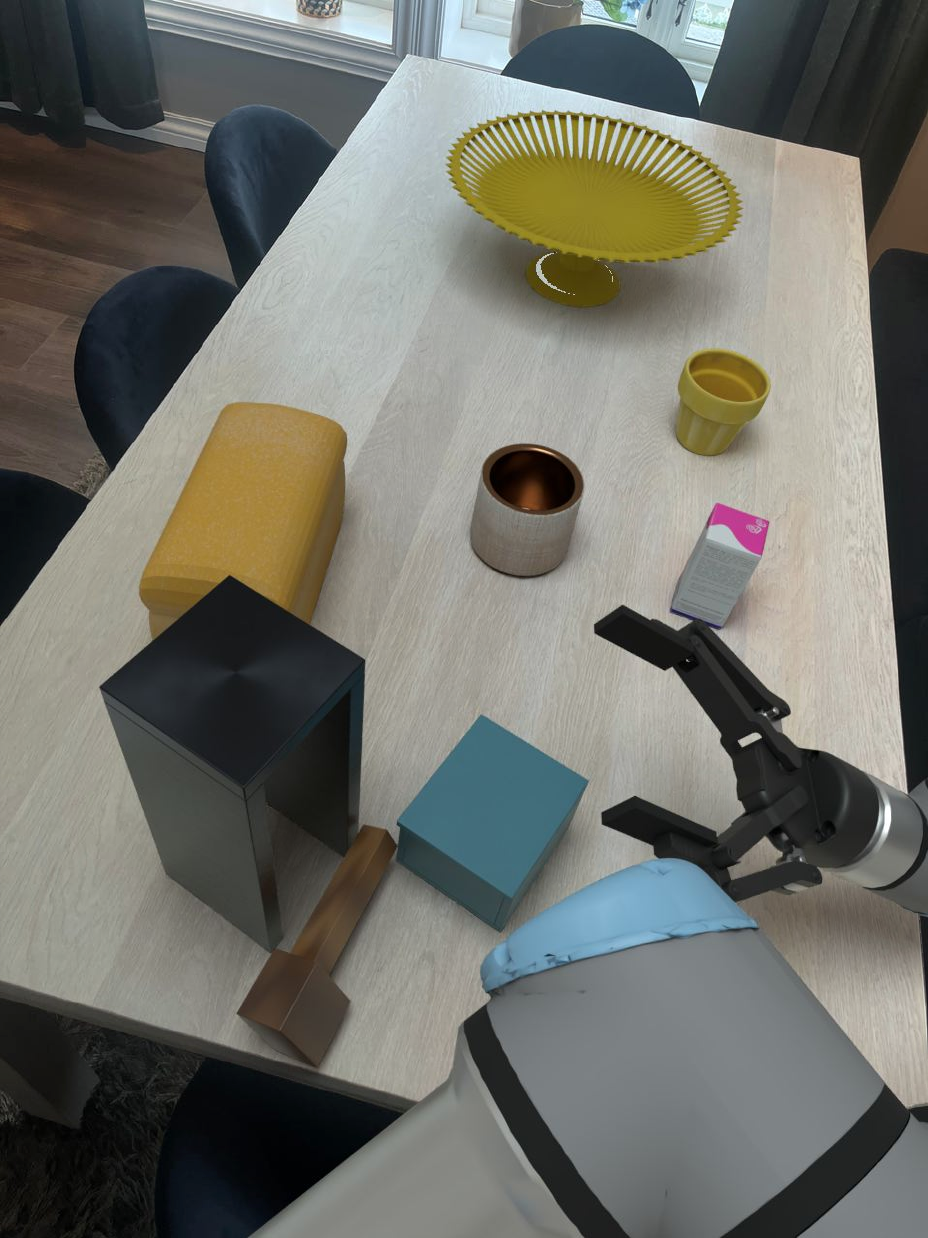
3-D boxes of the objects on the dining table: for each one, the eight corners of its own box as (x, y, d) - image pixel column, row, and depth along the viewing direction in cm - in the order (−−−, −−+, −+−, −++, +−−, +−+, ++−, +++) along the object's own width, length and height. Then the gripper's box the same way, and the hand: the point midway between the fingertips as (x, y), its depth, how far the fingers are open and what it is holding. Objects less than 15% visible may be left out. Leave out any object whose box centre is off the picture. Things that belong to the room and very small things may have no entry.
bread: (232, 490, 102) (219, 378, 90) (348, 511, 102) (350, 402, 90) (155, 668, 86) (126, 562, 75) (290, 693, 86) (284, 590, 75)
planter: (448, 534, 101) (457, 469, 94) (518, 492, 106) (532, 428, 99) (518, 595, 97) (533, 532, 89) (587, 549, 102) (607, 485, 95)
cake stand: (376, 269, 131) (380, 163, 120) (545, 180, 153) (563, 83, 141) (608, 405, 118) (638, 301, 106) (757, 288, 139) (796, 190, 128)
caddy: (500, 933, 75) (514, 896, 69) (395, 860, 77) (400, 819, 71) (568, 827, 81) (587, 785, 75) (469, 764, 84) (480, 718, 78)
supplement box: (722, 631, 97) (762, 558, 88) (668, 612, 98) (701, 537, 89) (732, 593, 100) (771, 519, 91) (679, 574, 101) (713, 499, 92)
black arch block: (271, 953, 72) (243, 789, 51) (165, 873, 75) (98, 686, 54) (358, 846, 78) (366, 659, 57) (257, 776, 81) (229, 573, 60)
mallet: (274, 1050, 67) (317, 1068, 65) (235, 1013, 64) (279, 1031, 62) (382, 852, 77) (422, 862, 75) (354, 810, 74) (395, 820, 72)
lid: (510, 902, 68) (511, 898, 68) (395, 825, 71) (396, 820, 70) (587, 785, 75) (589, 780, 74) (480, 718, 78) (481, 713, 77)
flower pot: (757, 439, 117) (787, 376, 109) (717, 479, 112) (745, 415, 104) (688, 400, 120) (712, 336, 113) (646, 436, 115) (668, 371, 107)
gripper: (823, 1014, 60) (574, 928, 50) (766, 692, 75) (568, 582, 66) (930, 989, 55) (677, 889, 45) (846, 650, 70) (644, 524, 61)
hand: (612, 707), depth 56 cm, fingers open, 13 cm apart
